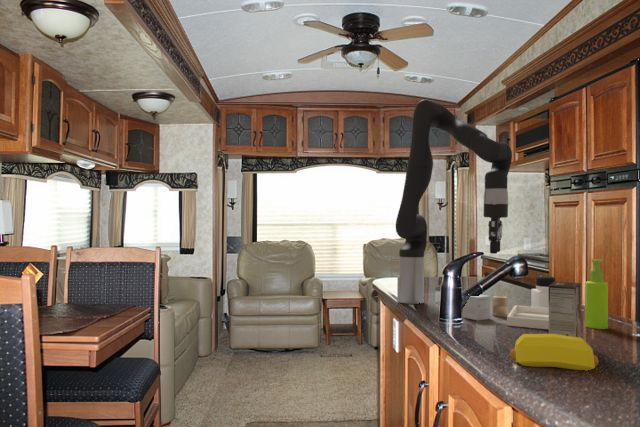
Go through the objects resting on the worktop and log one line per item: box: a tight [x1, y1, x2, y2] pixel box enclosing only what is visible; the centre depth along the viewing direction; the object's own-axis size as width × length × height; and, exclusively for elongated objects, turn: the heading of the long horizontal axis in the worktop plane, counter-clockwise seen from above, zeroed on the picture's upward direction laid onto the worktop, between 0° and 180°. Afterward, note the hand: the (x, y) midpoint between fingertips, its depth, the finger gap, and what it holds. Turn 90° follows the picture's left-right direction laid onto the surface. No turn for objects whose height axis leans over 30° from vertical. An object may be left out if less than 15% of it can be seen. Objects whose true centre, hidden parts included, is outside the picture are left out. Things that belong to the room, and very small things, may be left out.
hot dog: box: [509, 333, 599, 372], centre depth 111 cm, size 18×7×8 cm
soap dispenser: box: [584, 258, 609, 330], centre depth 151 cm, size 6×7×20 cm
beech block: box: [492, 295, 508, 318], centre depth 168 cm, size 4×4×6 cm
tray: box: [506, 305, 549, 330], centre depth 159 cm, size 12×22×3 cm, turn 153°
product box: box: [462, 294, 491, 321], centre depth 162 cm, size 6×6×7 cm
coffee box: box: [548, 281, 582, 338], centre depth 125 cm, size 9×6×16 cm
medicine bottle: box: [530, 275, 556, 308], centre depth 175 cm, size 7×7×12 cm
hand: (495, 252), depth 165 cm, fingers open, 8 cm apart
